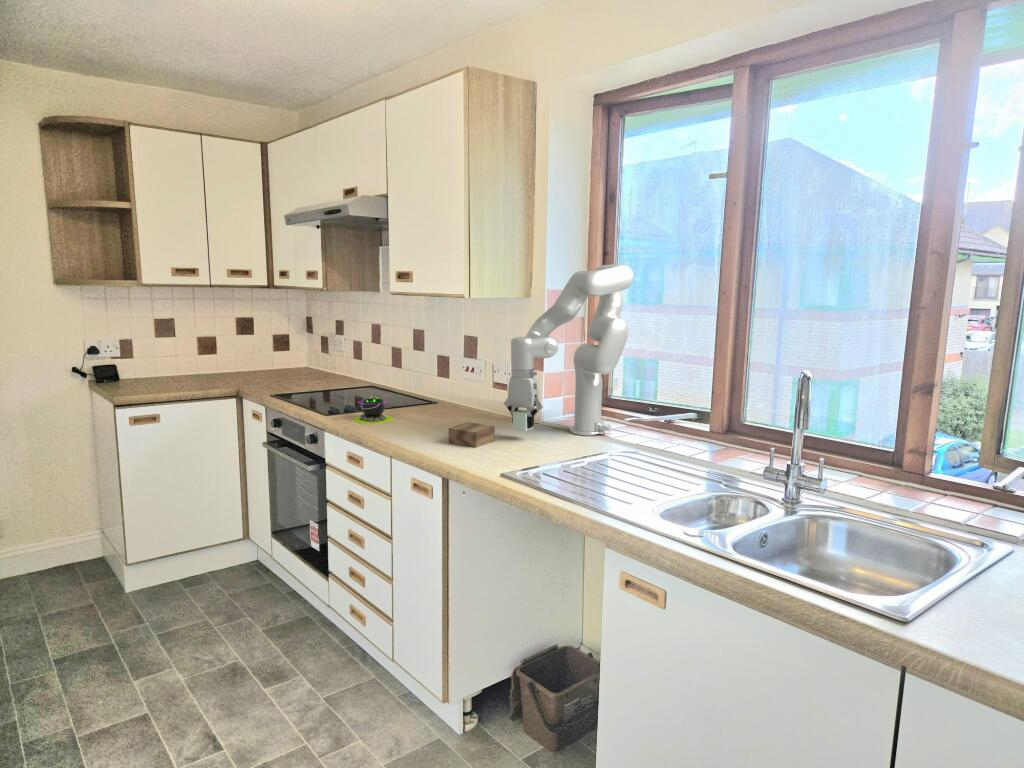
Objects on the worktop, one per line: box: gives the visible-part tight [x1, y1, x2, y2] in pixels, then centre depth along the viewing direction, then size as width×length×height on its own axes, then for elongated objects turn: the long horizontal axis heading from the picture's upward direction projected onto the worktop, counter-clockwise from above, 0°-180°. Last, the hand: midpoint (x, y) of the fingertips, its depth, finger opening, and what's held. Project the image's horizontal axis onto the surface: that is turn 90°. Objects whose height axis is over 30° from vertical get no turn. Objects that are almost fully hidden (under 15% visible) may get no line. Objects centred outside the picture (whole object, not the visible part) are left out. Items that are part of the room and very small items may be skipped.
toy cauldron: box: [353, 390, 394, 425], centre depth 255 cm, size 15×15×11 cm
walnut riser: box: [448, 421, 496, 448], centre depth 223 cm, size 11×11×5 cm
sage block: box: [512, 408, 534, 432], centre depth 226 cm, size 5×5×6 cm
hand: (523, 426), depth 227 cm, fingers closed on sage block, 5 cm apart
